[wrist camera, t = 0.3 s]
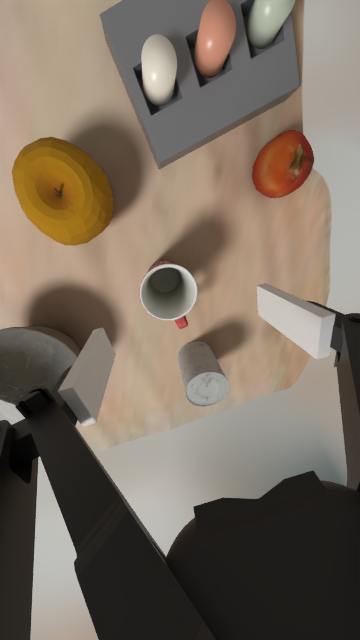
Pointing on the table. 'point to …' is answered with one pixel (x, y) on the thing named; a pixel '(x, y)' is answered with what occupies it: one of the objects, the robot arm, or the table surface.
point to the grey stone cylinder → (201, 375)
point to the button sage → (267, 20)
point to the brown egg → (214, 37)
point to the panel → (190, 86)
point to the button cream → (158, 69)
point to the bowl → (33, 359)
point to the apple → (62, 191)
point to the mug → (168, 292)
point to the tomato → (283, 164)
